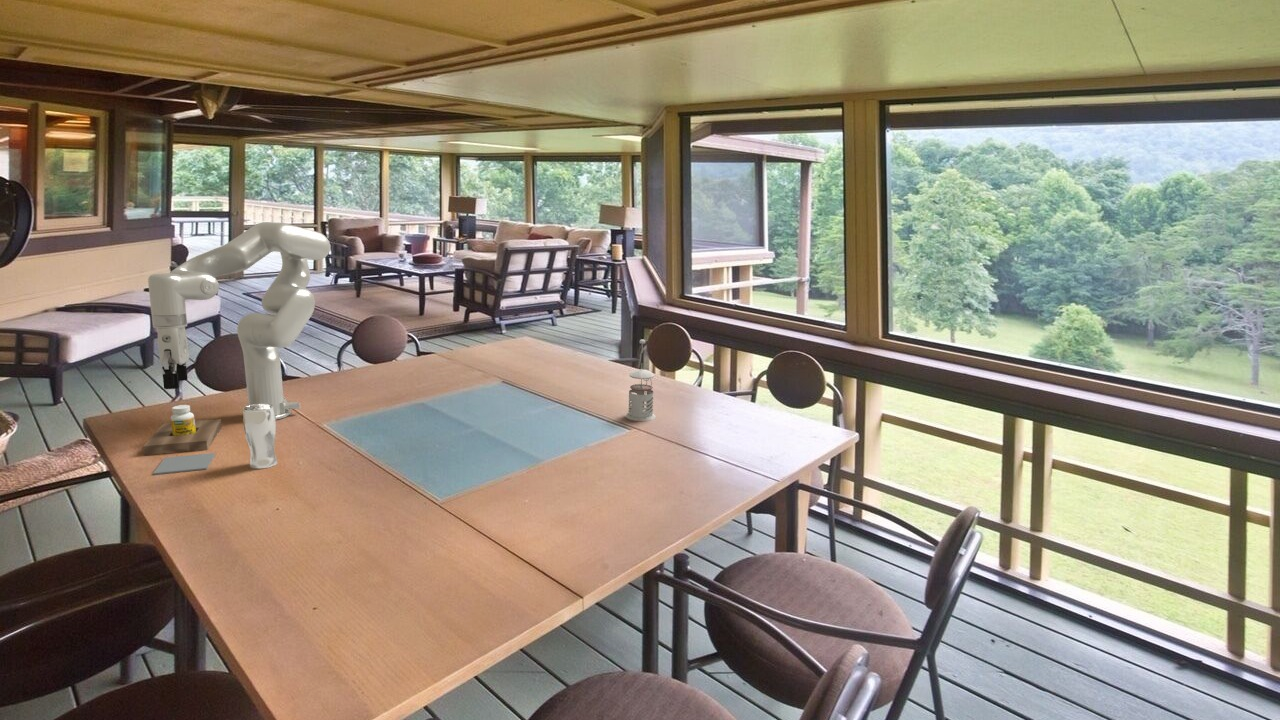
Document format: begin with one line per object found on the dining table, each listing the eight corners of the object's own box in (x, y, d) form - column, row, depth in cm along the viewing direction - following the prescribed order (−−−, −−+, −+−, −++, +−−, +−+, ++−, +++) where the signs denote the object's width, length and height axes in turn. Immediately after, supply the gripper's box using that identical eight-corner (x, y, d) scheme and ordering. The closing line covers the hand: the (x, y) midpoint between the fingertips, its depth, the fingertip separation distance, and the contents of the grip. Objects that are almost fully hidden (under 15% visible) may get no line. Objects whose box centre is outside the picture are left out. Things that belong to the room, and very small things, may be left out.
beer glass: (270, 457, 178) (264, 401, 175) (285, 463, 174) (279, 406, 171) (242, 465, 173) (236, 407, 169) (256, 471, 169) (250, 412, 165)
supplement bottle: (196, 436, 193) (192, 403, 191) (197, 441, 188) (193, 407, 186) (173, 439, 190) (169, 405, 188) (173, 445, 185) (169, 410, 183)
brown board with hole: (221, 427, 201) (220, 418, 200) (207, 449, 183) (206, 440, 182) (164, 431, 196) (163, 423, 195) (144, 455, 178) (143, 446, 177)
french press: (620, 418, 218) (621, 340, 213) (634, 409, 229) (636, 334, 223) (649, 422, 214) (651, 343, 209) (662, 412, 225) (664, 337, 220)
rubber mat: (215, 454, 179) (215, 453, 179) (206, 469, 169) (206, 468, 169) (165, 459, 175) (164, 457, 175) (153, 474, 165) (153, 473, 165)
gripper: (178, 325, 175) (185, 391, 179) (193, 316, 191) (199, 376, 194) (143, 326, 173) (150, 393, 176) (161, 316, 188) (168, 378, 192)
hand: (176, 384), depth 185 cm, fingers open, 9 cm apart
